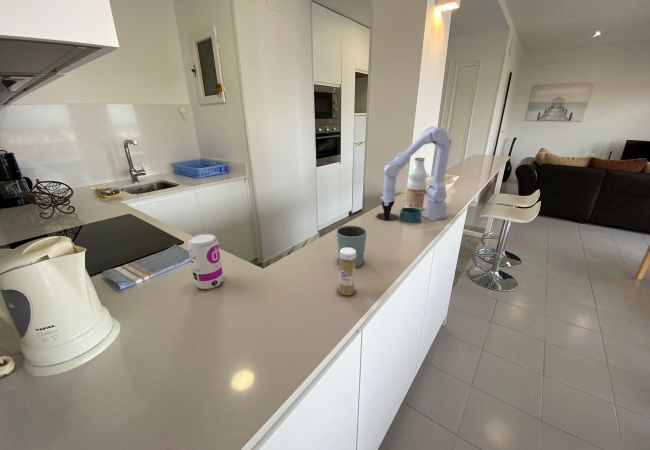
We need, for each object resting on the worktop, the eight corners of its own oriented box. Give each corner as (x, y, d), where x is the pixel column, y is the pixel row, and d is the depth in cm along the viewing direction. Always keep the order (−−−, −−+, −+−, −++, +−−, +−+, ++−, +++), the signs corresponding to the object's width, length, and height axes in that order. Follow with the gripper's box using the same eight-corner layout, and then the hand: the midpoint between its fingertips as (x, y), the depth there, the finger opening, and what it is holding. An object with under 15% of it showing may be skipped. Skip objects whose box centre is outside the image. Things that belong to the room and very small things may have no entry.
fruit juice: (401, 208, 155) (407, 158, 145) (410, 205, 161) (416, 156, 151) (417, 212, 149) (423, 159, 139) (425, 209, 155) (432, 158, 145)
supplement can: (229, 278, 88) (223, 234, 82) (211, 292, 80) (203, 246, 75) (208, 273, 90) (201, 231, 85) (189, 287, 83) (179, 242, 78)
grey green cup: (370, 261, 98) (372, 230, 94) (353, 272, 91) (354, 239, 87) (348, 252, 104) (349, 223, 100) (330, 262, 98) (330, 230, 93)
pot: (410, 216, 143) (411, 206, 141) (424, 222, 135) (426, 212, 133) (395, 219, 139) (396, 208, 137) (408, 225, 131) (410, 214, 129)
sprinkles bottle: (336, 294, 80) (337, 252, 75) (341, 285, 84) (342, 245, 79) (351, 297, 78) (353, 255, 74) (356, 289, 82) (358, 248, 77)
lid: (388, 213, 147) (389, 204, 145) (401, 219, 138) (402, 210, 136) (372, 216, 143) (373, 207, 141) (384, 223, 134) (385, 213, 132)
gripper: (383, 185, 143) (381, 210, 148) (378, 192, 130) (376, 219, 135) (397, 186, 141) (394, 211, 146) (393, 193, 128) (391, 220, 133)
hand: (387, 215), depth 140 cm, fingers closed on lid, 2 cm apart
